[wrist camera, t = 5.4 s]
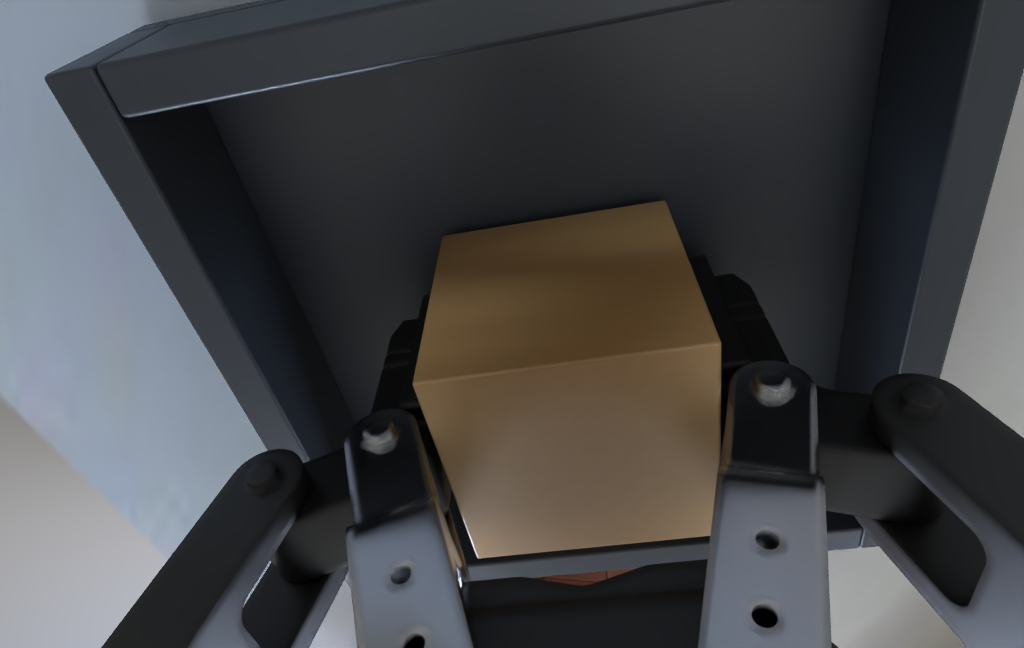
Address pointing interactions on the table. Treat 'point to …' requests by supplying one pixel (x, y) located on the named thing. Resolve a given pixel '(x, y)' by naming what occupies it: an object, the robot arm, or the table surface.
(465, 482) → the block
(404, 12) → the tray
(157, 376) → the table surface
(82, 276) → the table surface
